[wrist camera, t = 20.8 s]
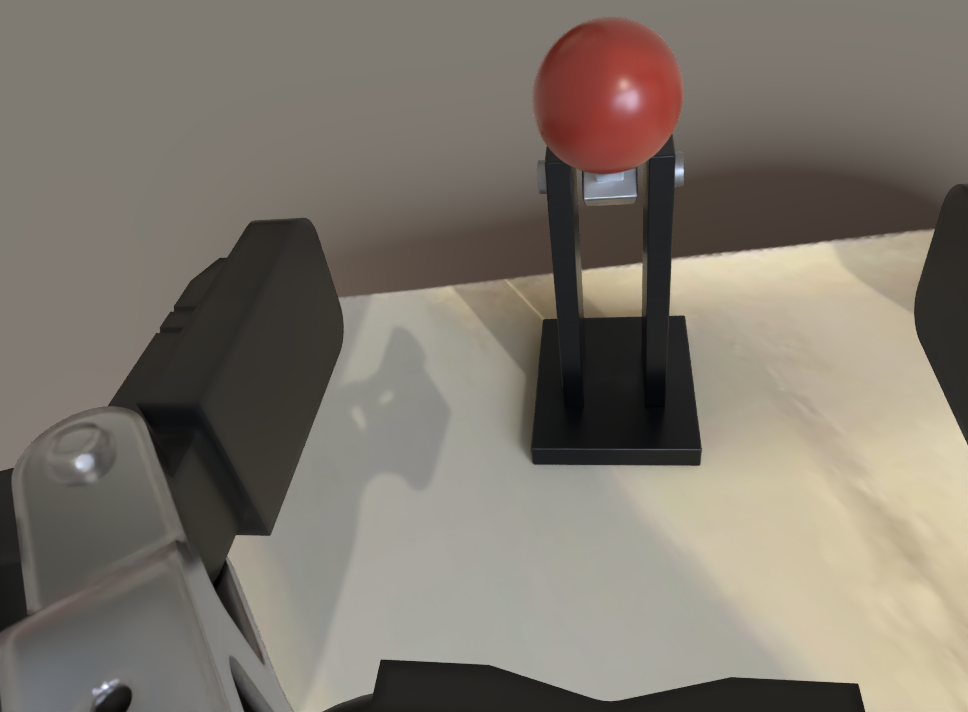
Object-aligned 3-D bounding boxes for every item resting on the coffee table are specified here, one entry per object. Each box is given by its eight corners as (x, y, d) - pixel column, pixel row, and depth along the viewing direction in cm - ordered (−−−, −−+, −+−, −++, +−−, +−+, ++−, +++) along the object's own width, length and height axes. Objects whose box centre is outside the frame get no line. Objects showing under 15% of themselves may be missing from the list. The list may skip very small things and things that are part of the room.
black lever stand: (700, 466, 36) (725, 190, 27) (532, 465, 38) (498, 202, 28) (684, 331, 44) (699, 76, 34) (544, 334, 45) (520, 90, 35)
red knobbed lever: (691, 158, 17) (690, -15, 16) (526, 168, 17) (521, 1, 17) (652, 216, 33) (651, 132, 33) (569, 220, 34) (567, 138, 34)
